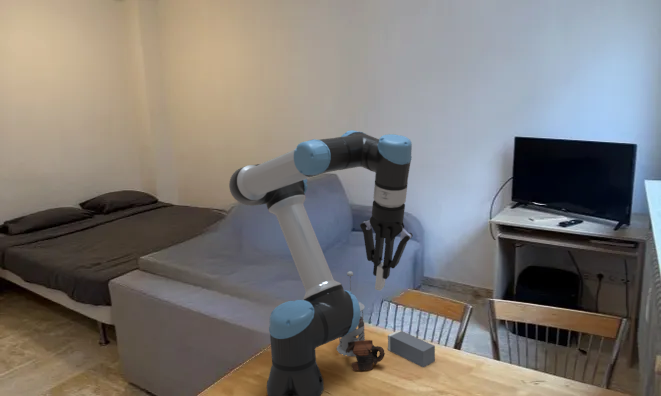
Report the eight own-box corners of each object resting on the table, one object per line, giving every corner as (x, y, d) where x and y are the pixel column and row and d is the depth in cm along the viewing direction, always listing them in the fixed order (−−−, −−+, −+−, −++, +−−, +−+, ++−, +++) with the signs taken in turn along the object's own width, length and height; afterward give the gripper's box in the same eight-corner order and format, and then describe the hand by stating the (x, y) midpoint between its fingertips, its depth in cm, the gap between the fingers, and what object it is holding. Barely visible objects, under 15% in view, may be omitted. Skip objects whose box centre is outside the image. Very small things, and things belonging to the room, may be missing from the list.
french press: (330, 352, 162) (327, 274, 157) (347, 336, 172) (345, 262, 167) (360, 359, 158) (358, 279, 152) (375, 342, 168) (374, 266, 162)
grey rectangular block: (423, 367, 152) (388, 350, 162) (434, 361, 155) (399, 344, 165) (423, 351, 151) (387, 335, 161) (434, 345, 154) (399, 329, 164)
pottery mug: (342, 372, 152) (339, 342, 154) (355, 371, 160) (352, 342, 162) (381, 368, 147) (378, 337, 149) (393, 367, 155) (389, 338, 158)
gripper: (356, 200, 124) (349, 286, 133) (409, 214, 118) (398, 303, 128) (370, 190, 130) (363, 273, 139) (421, 203, 124) (409, 288, 134)
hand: (379, 287), depth 133 cm, fingers closed
